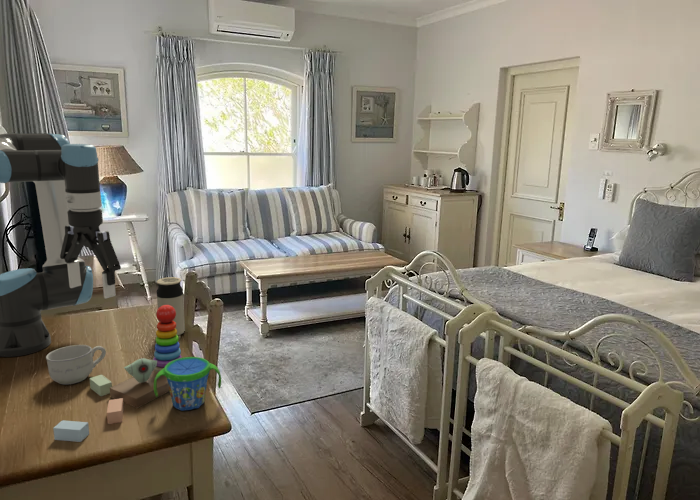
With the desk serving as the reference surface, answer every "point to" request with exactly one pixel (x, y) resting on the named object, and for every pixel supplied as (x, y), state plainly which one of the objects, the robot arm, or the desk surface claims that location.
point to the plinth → (139, 390)
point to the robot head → (141, 369)
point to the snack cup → (187, 381)
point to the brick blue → (71, 431)
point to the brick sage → (100, 385)
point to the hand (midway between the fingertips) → (92, 291)
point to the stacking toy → (166, 338)
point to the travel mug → (172, 299)
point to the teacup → (72, 363)
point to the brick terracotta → (115, 411)
